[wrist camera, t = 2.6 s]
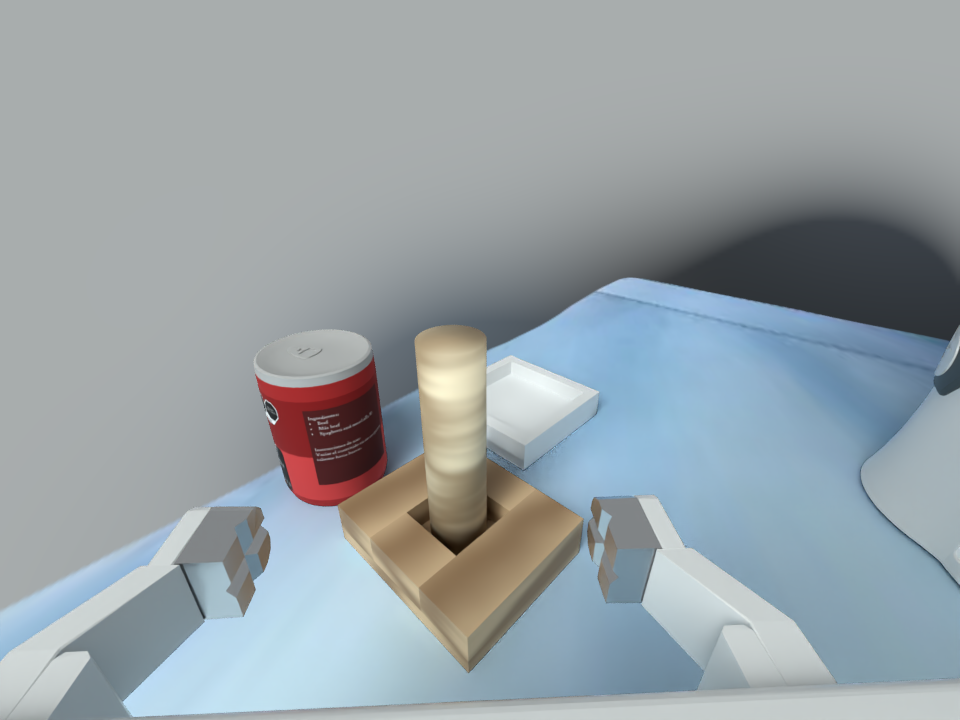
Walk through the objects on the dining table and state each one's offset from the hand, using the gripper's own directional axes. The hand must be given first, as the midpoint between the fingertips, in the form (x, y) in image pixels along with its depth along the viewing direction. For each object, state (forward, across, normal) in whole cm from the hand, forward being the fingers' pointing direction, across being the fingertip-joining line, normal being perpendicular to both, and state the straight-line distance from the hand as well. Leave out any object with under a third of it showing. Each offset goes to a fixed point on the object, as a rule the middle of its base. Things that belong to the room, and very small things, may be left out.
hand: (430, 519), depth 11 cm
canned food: (+20, +9, +16) cm, 27 cm away
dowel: (+12, 0, +15) cm, 19 cm away
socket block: (+12, -1, +16) cm, 20 cm away
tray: (+27, -6, +15) cm, 32 cm away
